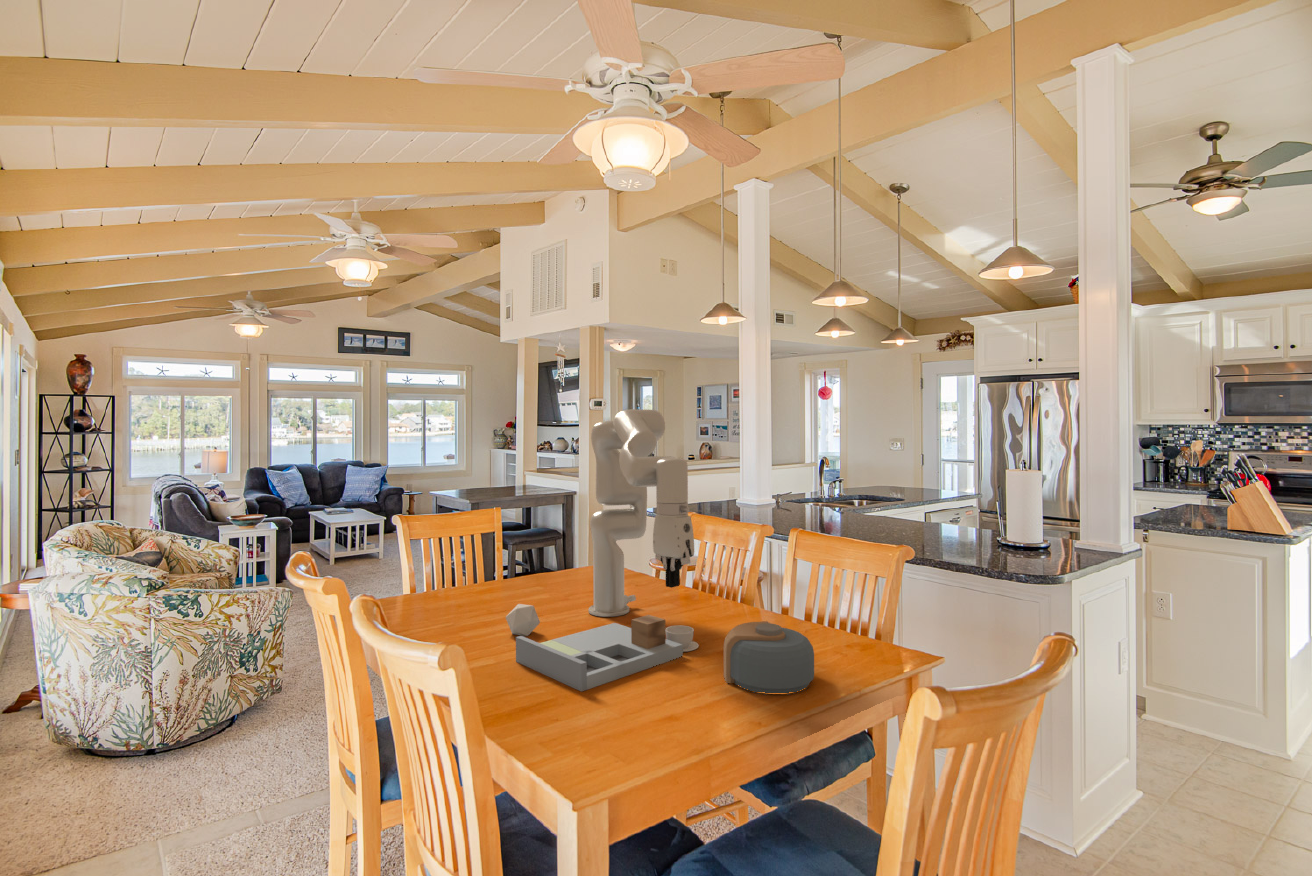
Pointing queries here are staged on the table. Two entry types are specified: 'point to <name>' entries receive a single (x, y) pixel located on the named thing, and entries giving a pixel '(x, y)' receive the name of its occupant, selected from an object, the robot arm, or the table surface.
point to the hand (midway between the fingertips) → (672, 586)
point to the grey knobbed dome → (768, 658)
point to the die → (522, 619)
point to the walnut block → (648, 631)
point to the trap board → (593, 656)
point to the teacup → (682, 636)
